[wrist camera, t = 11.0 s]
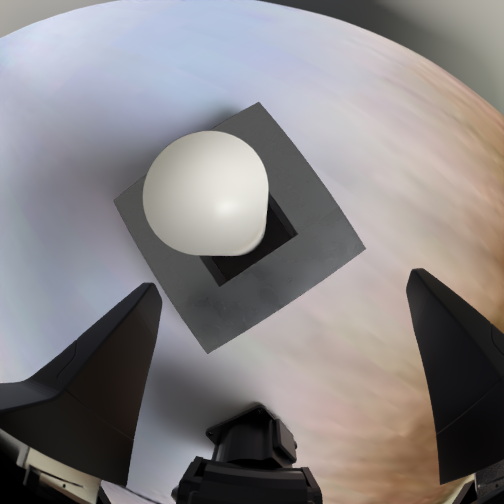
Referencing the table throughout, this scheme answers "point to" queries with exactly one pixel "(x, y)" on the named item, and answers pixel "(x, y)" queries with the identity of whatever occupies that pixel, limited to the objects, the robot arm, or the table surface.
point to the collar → (269, 267)
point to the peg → (207, 195)
